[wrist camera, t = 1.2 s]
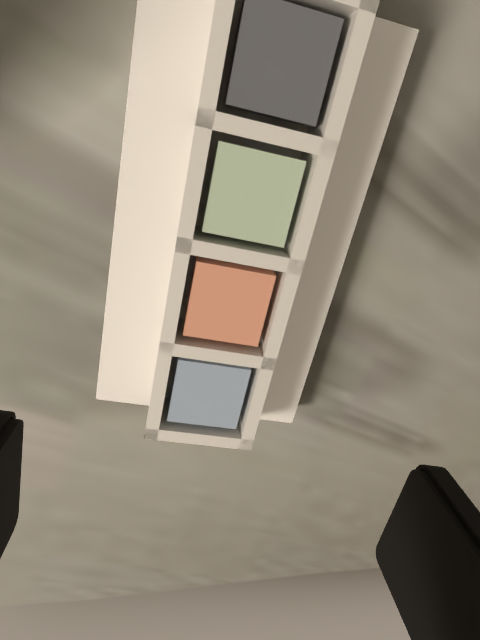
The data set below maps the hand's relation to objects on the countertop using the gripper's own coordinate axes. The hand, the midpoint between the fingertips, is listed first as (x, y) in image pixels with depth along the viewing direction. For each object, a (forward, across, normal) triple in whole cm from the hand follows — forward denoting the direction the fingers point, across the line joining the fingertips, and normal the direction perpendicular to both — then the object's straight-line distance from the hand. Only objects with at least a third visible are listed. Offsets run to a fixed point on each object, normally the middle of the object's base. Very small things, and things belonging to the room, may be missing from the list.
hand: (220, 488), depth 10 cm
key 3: (+16, -1, 0) cm, 16 cm away
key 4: (+16, -1, +6) cm, 18 cm away
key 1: (+16, -1, -12) cm, 20 cm away
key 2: (+16, -1, -6) cm, 17 cm away
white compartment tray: (+19, -1, -3) cm, 20 cm away
